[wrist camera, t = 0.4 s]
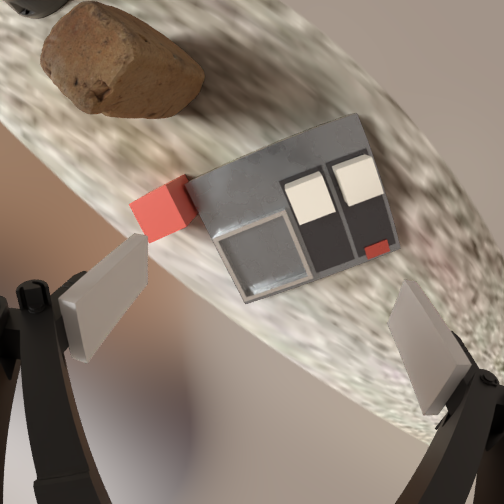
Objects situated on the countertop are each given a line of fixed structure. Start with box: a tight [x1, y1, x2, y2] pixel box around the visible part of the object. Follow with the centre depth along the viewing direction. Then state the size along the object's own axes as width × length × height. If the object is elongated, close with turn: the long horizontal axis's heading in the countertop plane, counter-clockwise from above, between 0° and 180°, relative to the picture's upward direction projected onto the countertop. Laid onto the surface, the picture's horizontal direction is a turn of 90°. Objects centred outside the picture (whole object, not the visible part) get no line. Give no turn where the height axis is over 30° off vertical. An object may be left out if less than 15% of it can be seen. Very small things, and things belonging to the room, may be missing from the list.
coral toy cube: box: [129, 174, 198, 243], centre depth 36 cm, size 5×5×7 cm
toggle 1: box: [285, 171, 336, 225], centre depth 33 cm, size 4×4×3 cm
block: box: [40, 1, 205, 119], centre depth 24 cm, size 11×8×20 cm
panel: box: [185, 113, 401, 304], centre depth 37 cm, size 17×21×4 cm
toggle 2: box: [332, 154, 384, 206], centre depth 32 cm, size 4×4×3 cm
